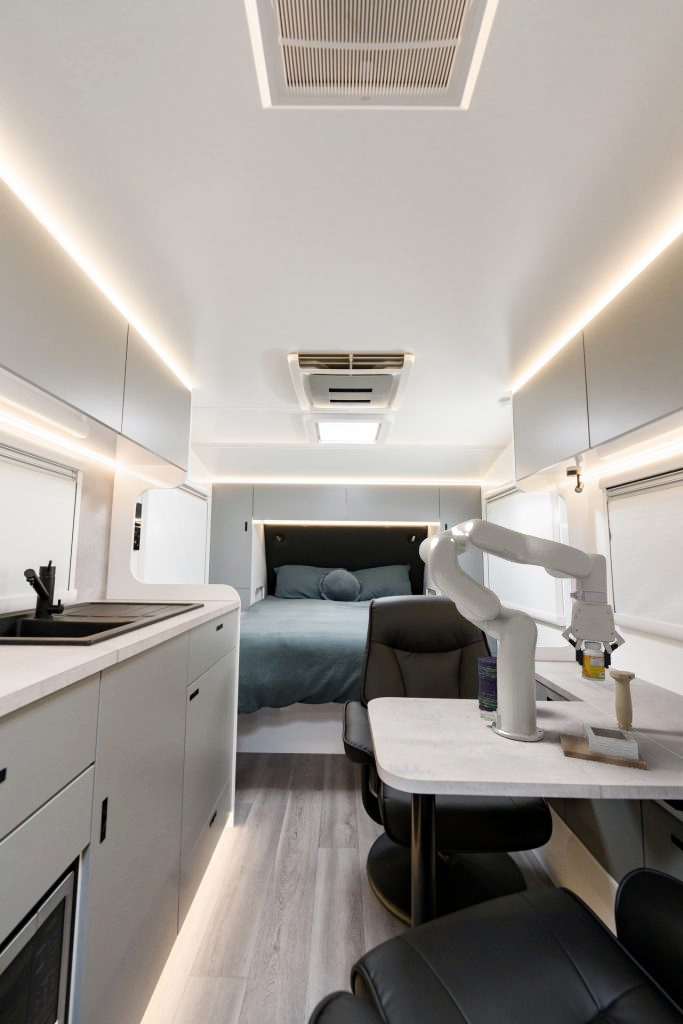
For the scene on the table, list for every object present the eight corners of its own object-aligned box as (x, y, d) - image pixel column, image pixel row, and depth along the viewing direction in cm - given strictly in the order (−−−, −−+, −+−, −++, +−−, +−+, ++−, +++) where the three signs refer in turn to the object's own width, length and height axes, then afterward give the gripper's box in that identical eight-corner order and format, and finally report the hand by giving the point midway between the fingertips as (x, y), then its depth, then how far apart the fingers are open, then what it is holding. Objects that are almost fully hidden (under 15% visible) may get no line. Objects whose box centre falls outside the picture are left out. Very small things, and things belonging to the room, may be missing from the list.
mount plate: (564, 756, 98) (564, 750, 98) (559, 738, 109) (558, 733, 109) (647, 770, 92) (647, 764, 92) (632, 749, 103) (632, 744, 103)
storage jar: (509, 717, 124) (508, 664, 126) (475, 710, 129) (474, 659, 131) (514, 708, 132) (513, 659, 135) (481, 702, 137) (481, 655, 139)
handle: (642, 731, 116) (638, 674, 119) (623, 732, 115) (620, 674, 117) (626, 725, 121) (623, 670, 123) (608, 726, 120) (605, 670, 122)
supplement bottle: (579, 675, 118) (579, 639, 119) (602, 678, 116) (601, 641, 118) (584, 680, 113) (583, 642, 114) (607, 682, 111) (606, 644, 113)
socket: (589, 752, 97) (588, 736, 98) (582, 738, 106) (582, 723, 107) (638, 761, 94) (637, 744, 94) (627, 745, 103) (626, 730, 103)
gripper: (558, 596, 117) (559, 664, 115) (631, 601, 111) (634, 673, 109) (555, 595, 124) (556, 659, 122) (624, 600, 118) (626, 668, 115)
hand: (593, 665), depth 115 cm, fingers closed on supplement bottle, 5 cm apart
